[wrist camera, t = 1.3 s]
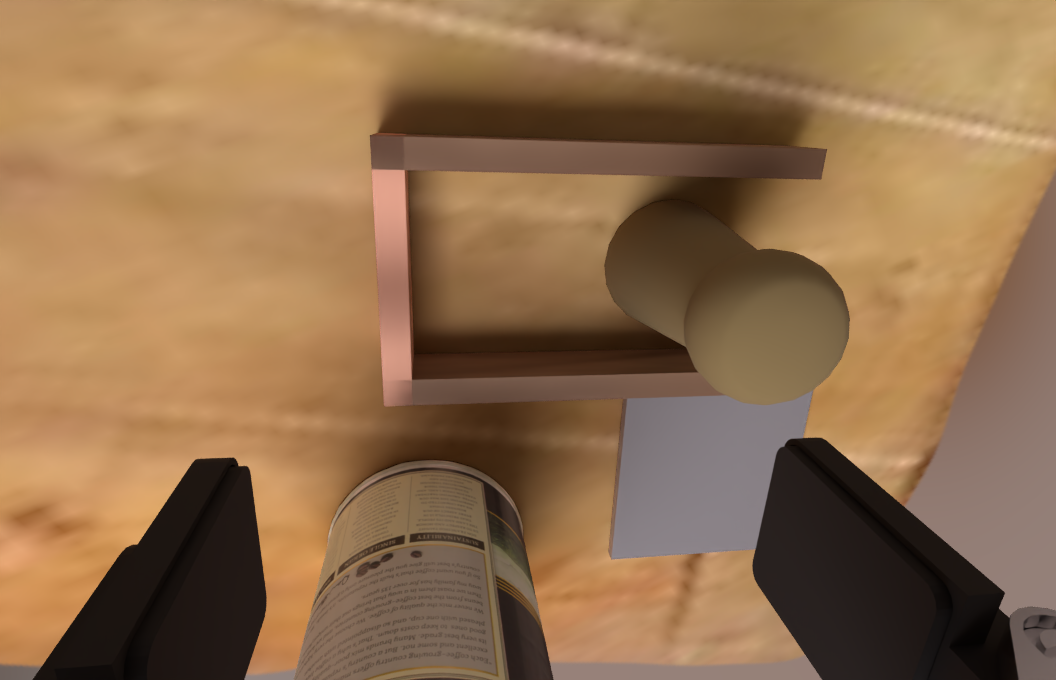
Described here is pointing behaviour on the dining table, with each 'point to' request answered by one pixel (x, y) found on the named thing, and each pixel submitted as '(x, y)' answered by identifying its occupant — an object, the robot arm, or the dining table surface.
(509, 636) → the coffee can
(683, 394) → the brown u-shaped frame
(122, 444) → the dining table surface
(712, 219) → the tan hourglass shape
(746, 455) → the coaster
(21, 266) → the dining table surface
